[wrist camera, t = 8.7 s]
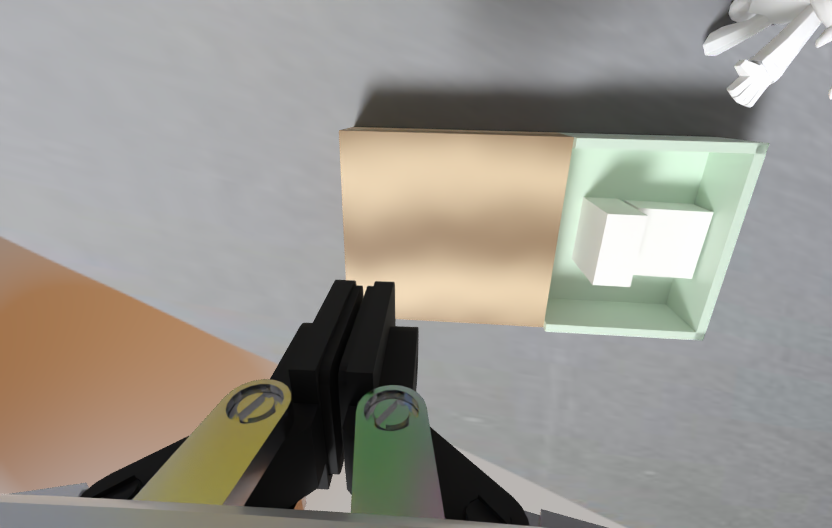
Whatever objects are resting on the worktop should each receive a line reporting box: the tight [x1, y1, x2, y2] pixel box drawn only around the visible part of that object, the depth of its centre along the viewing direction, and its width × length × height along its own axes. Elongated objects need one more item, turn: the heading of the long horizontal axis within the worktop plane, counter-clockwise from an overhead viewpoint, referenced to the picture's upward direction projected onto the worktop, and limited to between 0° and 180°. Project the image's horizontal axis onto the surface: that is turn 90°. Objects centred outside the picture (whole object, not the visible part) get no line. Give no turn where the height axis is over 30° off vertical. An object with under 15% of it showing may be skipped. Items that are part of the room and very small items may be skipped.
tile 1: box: [572, 197, 648, 287], centre depth 23 cm, size 4×4×2 cm
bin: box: [543, 133, 769, 340], centre depth 23 cm, size 11×9×4 cm
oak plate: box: [339, 127, 574, 327], centre depth 24 cm, size 11×12×4 cm
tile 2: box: [624, 200, 714, 279], centre depth 24 cm, size 4×4×2 cm
